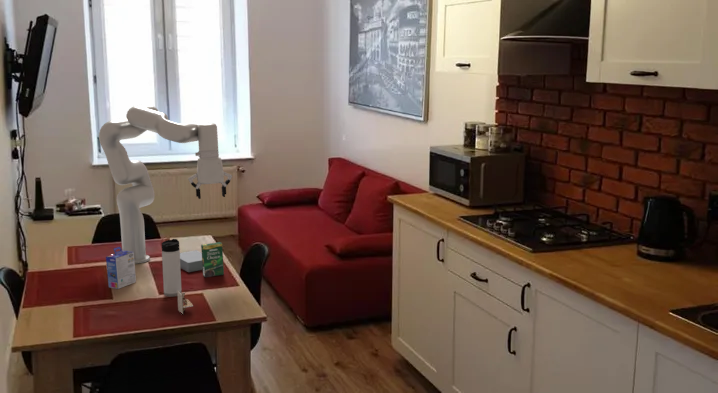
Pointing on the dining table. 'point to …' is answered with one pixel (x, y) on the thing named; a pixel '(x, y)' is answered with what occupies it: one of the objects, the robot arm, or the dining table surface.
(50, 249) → the dining table surface
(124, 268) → the ink cartridge box
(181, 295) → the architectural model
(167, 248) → the travel mug
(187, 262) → the base block
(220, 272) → the coffee box
